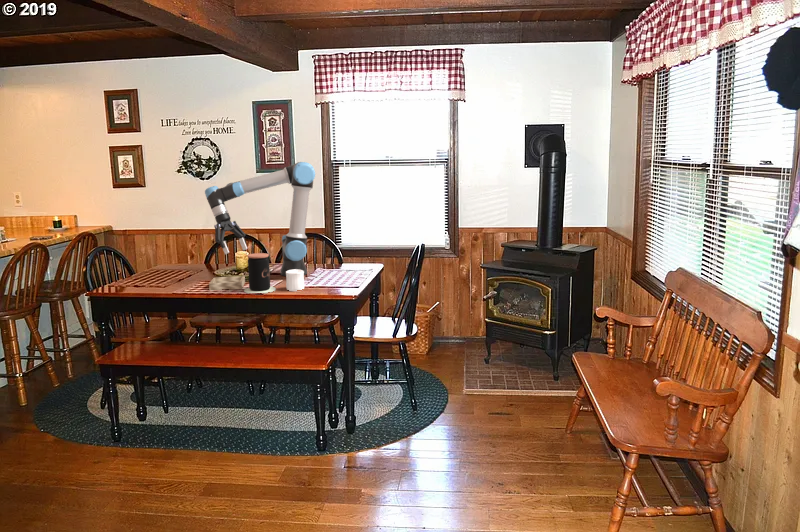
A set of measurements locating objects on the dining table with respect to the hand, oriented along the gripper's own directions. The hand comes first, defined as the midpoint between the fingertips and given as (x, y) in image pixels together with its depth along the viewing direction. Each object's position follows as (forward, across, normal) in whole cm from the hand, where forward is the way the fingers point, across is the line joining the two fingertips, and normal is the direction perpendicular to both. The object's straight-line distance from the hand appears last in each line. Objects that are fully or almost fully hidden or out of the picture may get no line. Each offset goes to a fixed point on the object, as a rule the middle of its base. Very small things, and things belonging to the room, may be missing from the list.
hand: (236, 251), depth 348 cm
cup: (+32, -5, +23) cm, 39 cm away
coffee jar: (+24, +5, +10) cm, 27 cm away
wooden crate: (+15, +5, -11) cm, 19 cm away
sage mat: (+25, +5, +10) cm, 27 cm away
